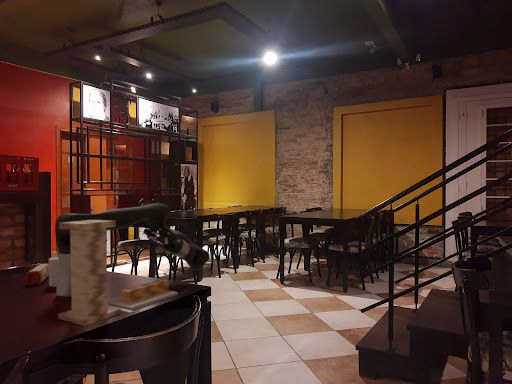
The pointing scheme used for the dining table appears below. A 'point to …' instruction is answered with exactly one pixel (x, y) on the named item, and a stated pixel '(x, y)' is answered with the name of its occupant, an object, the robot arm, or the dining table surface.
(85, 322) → the stand
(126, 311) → the line
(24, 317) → the dining table surface
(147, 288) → the bar
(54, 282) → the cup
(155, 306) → the dining table surface
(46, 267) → the snack package
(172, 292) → the mat
